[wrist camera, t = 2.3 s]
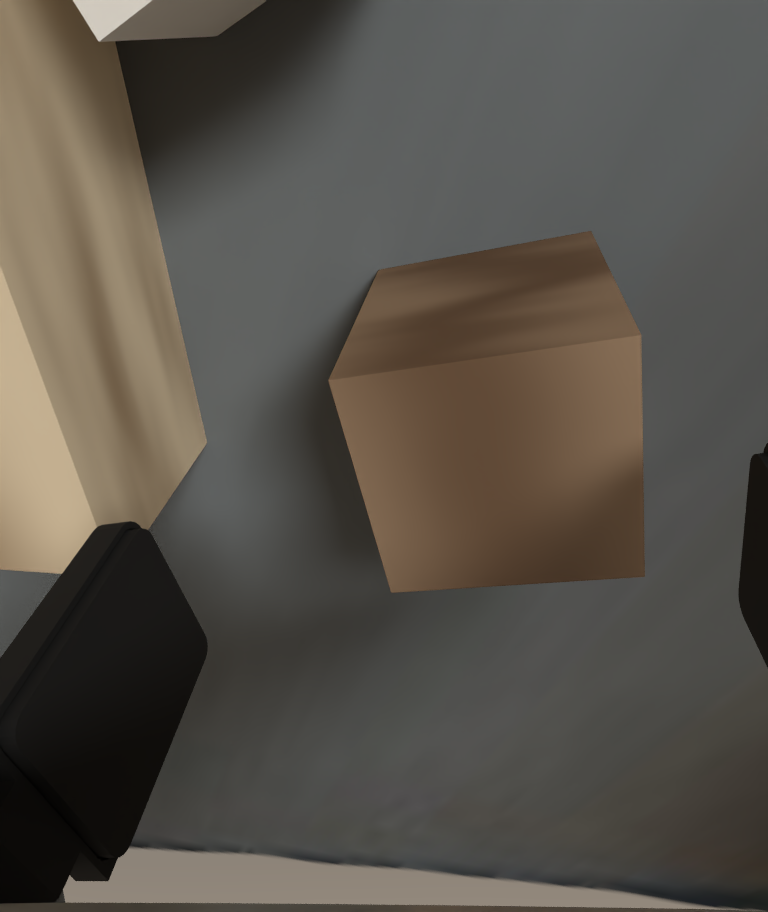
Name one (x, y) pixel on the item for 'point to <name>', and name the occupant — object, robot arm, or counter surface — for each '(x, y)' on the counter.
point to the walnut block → (498, 418)
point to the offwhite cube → (162, 17)
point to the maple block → (80, 301)
